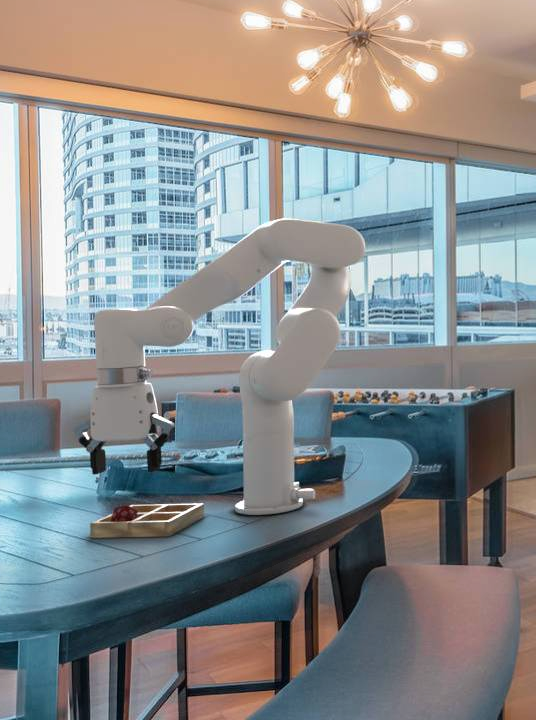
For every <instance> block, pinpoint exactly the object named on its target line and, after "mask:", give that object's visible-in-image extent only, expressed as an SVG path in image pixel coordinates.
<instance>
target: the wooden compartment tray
mask: <svg viewBox="0 0 536 720" xmlns="http://www.w3.org/2000/svg"><path fill="white" fill-rule="evenodd" d="M129 506H130V507H132V508H134V509H135V510H137V511H138V513H137V516H136V519H134V520H132V521H125V522H111V519H112V515H113V512H112V513H110V514H108V515H106V516H103V517H101V518H99V519H97V520H94V521H92V522H90V523H89V524H90V525H89V533H90V534H89V538H90V539H105V538H107V539H108V538H148V537H149V538H153V537H154V538H156V537H157V538H158V537H159V538H161V537H162V538H163V537H171V536H173V535H174V534H176V533H178V532H180V531H182V530H183V529H185V528H187V527H189V526H191V525H192V524H194V523H196V522H197V521H199V520H201V519H203V518H205V504H204V503H173V504H172V503H162V504H158V503H157V504H155V503H154V504H131V505H129Z"/></svg>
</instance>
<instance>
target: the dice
mask: <svg viewBox="0 0 536 720" xmlns="http://www.w3.org/2000/svg"><path fill="white" fill-rule="evenodd" d="M112 513H113V515H112V519H111V522H125V521H132V520H134V519H136V516H137V513H138V511H137V510H135V509H134V508H132V507H130V505H129V504H127V505H122V506H117V507H114V509H113V512H112Z"/></svg>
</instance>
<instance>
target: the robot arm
mask: <svg viewBox="0 0 536 720" xmlns="http://www.w3.org/2000/svg"><path fill="white" fill-rule="evenodd" d="M365 253H366V241H365V239H364V236H363V234H361V233H360V232H359V230H357V229H356V228H354V227H352V226H350V225H345V224H338V223H332V222H331V223H330V222H321V221H313V220H305V219H296V218H280V219H275V220H271V221H268V222H265V223H263V224H261V225H259V226H258V227H257V228H255V229H254V230H253V231H250V233H248V234H247V235H246V236H244V237H243V238H242V239H240V240H239V241H238V242H236V243H235V244H234V245H233V246H231V247H230V248H229V249H228V250H226V251H225V252H223V253H221V254H220V255H219V256H218V257H216V258H215V259H214V260H212V261H211V262H210V263H208V264H206V265H205V266H203V267H202V268H200V269H199V270H198V271H196V272H195V273H194V274H193V275H191V276H189V277H188V278H187V279H185V280H184V281H182V282H181V283H179V284H178V285H177V286H176V285H175V287H173V288H172V289H170V290H169V291H168V292H167V293H165V294H164V295H162V296H161V297H160V298H158V299H157V300H155V302H153V303H151V305H149V306H147V307H146V308H144V309H137V308H108V309H107V308H106V309H100V310H98V311H96V312H95V314H94V317H93V326H94V327H93V328H94V344H95V362H96V380H97V385H96V386H94V387H93V392H92V397H91V402H90V403H91V405H90V418H89V419H87V420H86V421H84V422H82V423H81V424H79V425H77V426H75V427H73V430H72V431H73V433H74V435H75V436H76V438H77V439H78V443H79V444H81V446H83V447H84V448H85V450H86V452H87V453H89V461H90V462H89V464H90V469H91V474H92V475H94V476H95V475H98V474H102V473H104V472H106V471H107V459H106V450H105V449H104V448H103V447H104V445H105V444H106V443H107V442H123V441H124V442H125V441H142V442H143V443H144V444H145V445H146V446H147V447H148V448H149V449H147V450H146V465H147V467H146V468H147V472H149V473H154V472H156V471H158V470H161V466H162V463H163V460H162V458H163V457H162V447H164V445H165V444H166V442H168V440H169V439H170V438H171V435H172V433H173V431H174V429H175V427H176V424H175V423H174V422H173V421H170V420H168V419H167V418H164V417H162V416H159V412H158V405H157V399H156V396H155V392H154V391H155V390H154V388H153V384H152V383H151V382H147V380H148V378H152V377H153V375H154V372H153V370H152V369H148V368H147V366H146V355H145V354H146V353H145V347H149V346H150V347H163V348H165V347H166V348H172V347H177V346H180V345H182V344H184V343H186V342H187V341H188V340H189V339H190V338H191V336H192V334H193V332H194V323H195V322H196V321H198V320H199V319H201V317H203V316H205V315H206V314H208V313H210V312H211V311H213V310H215V309H216V308H219V307H221V306H224V305H227V304H229V303H231V302H234V301H236V300H237V299H240V298H241V297H242V296H243V297H244V295H245V294H247V293H248V292H250V291H251V290H252V289H253V288H255V287H256V286H257V285H258V284H260V283H261V282H262V281H264V279H265V278H267V277H268V276H269V275H270V274H273V273H274V272H275V271H276V270H278V269H279V268H280V267H281V266H282V265H284V264H285V263H288V262H295V263H304V264H309V267H310V277H309V280H308V282H307V284H306V286H305V287H304V288H303V290H302V292H301V293H300V295H299V296H298V297H297V299H296V300H295V301H294V303H293V304H292V305H291V306H290V308H289V309H288V311H287V312H286V313H284V315H283V316H282V317H281V319H280V321H279V323H278V324H277V326H276V330H275V338H276V341H277V343H278V345H277V347H276V348H275V350H262V351H258V352H255V353H253V354H251V355H249V356H248V357H247V358H246V359H245V361H244V362H243V364H242V365H241V367H240V371H239V375H238V386H239V392H240V400H241V401H240V402H241V409H242V465H243V466H242V467H243V468H242V469H243V471H242V472H243V474H242V475H243V481H242V482H243V500H242V501H241V500H240V501H239V502H237V503H236V504H235V505H234V511H235V512H236V513H238V514H240V515H247V516H265V515H277V514H282V513H287V512H291V511H294V510H297V509H299V508H301V507H302V506H303V505H304V504H303V503H304V500H315V499H316V490H315V489H314V488H301V487H300V482H299V481H295V414H294V413H295V412H294V406H293V400H296V399H297V398H299V397H300V396H301V395H303V394H304V392H306V391H307V390H308V388H309V387H310V386H311V385H312V383H313V382H314V380H315V379H316V377H317V376H318V374H319V373H320V372H321V370H322V369H323V367H324V366H325V365H326V363H327V362H328V361H329V359H330V358H331V356H332V355H333V353H334V352H335V350H336V349H337V346H338V344H339V342H340V338H341V324H340V322H339V320H338V318H337V317H338V315H339V314H340V312H341V311H342V309H343V307H344V306H345V304H346V303H347V300H348V299H349V296H350V292H351V284H352V283H351V274H350V273H351V272H350V268H349V267H352V266H354V265H356V264H358V263H359V262H360V261H362V259H363V257H364V255H365ZM160 428H162V431H161V434H160V435H158V434H159V432H160ZM89 429H90V434H91V436H89V435H88V432H87V431H88V430H89Z"/></svg>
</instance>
